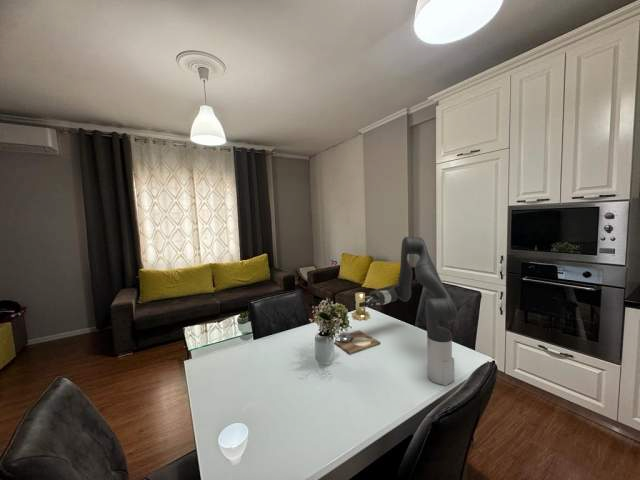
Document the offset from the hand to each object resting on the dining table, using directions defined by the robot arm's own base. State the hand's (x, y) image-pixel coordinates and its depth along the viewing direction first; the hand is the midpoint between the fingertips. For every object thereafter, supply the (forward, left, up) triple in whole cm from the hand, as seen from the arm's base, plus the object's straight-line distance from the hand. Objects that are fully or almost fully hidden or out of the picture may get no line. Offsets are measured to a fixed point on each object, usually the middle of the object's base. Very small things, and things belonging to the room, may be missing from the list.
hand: (356, 303), depth 135 cm
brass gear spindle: (0, -3, -8) cm, 8 cm away
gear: (+7, +4, -21) cm, 23 cm away
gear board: (+3, -1, -22) cm, 23 cm away
